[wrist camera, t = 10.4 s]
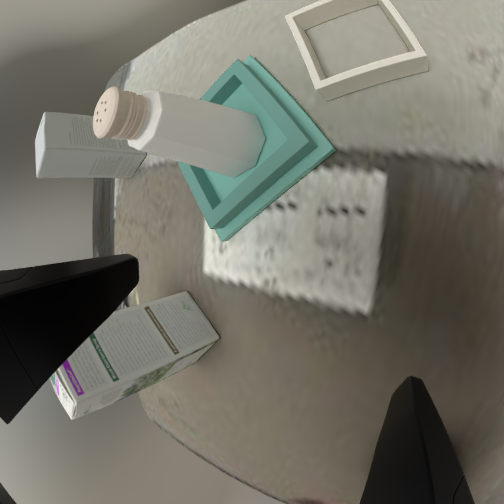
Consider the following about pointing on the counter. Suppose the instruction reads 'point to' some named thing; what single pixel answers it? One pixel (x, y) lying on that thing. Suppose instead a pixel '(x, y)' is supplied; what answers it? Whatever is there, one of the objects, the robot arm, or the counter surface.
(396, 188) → the counter surface
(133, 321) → the syrup box
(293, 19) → the white square tray
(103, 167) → the skincare box
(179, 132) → the pepper shaker
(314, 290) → the counter surface
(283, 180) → the teal square tray
